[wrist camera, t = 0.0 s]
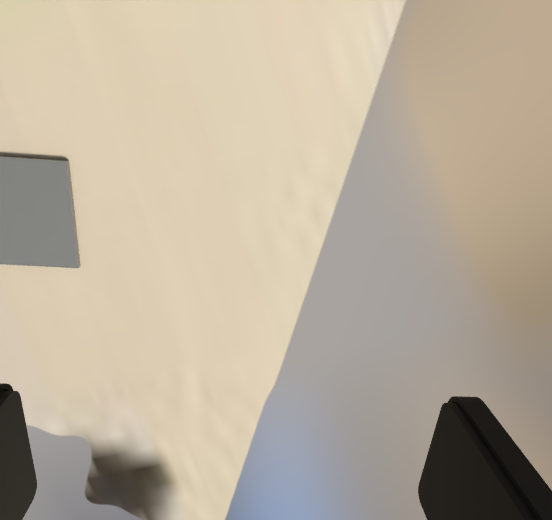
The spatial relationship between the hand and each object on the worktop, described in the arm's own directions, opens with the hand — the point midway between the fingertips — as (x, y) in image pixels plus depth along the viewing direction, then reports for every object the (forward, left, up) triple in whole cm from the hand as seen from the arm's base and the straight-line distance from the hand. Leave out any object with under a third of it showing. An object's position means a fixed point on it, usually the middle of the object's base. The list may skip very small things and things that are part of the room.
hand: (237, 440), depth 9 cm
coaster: (+6, -25, -37) cm, 45 cm away
